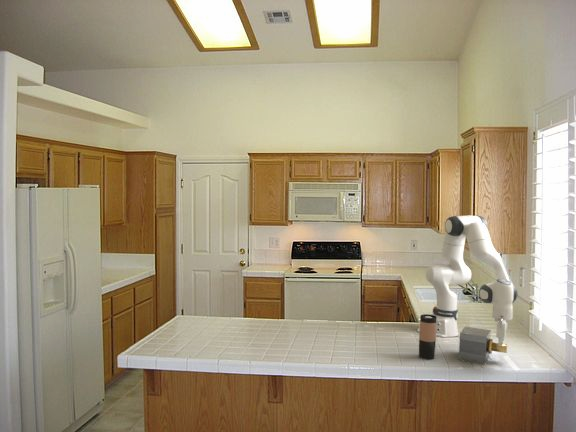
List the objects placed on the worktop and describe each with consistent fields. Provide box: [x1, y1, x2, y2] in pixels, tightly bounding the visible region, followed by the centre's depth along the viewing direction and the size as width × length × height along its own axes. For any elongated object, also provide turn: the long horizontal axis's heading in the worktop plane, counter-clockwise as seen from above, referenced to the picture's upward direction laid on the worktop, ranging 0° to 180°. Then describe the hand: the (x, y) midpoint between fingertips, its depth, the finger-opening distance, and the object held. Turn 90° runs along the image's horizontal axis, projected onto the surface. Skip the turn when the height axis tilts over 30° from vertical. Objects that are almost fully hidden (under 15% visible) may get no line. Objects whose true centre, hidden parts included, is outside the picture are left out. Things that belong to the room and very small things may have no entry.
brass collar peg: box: [487, 338, 508, 355], centre depth 253 cm, size 15×7×7 cm, turn 62°
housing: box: [458, 325, 492, 365], centre depth 256 cm, size 12×14×13 cm
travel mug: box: [418, 313, 437, 361], centre depth 254 cm, size 8×8×20 cm
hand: (501, 343), depth 250 cm, fingers open, 8 cm apart
